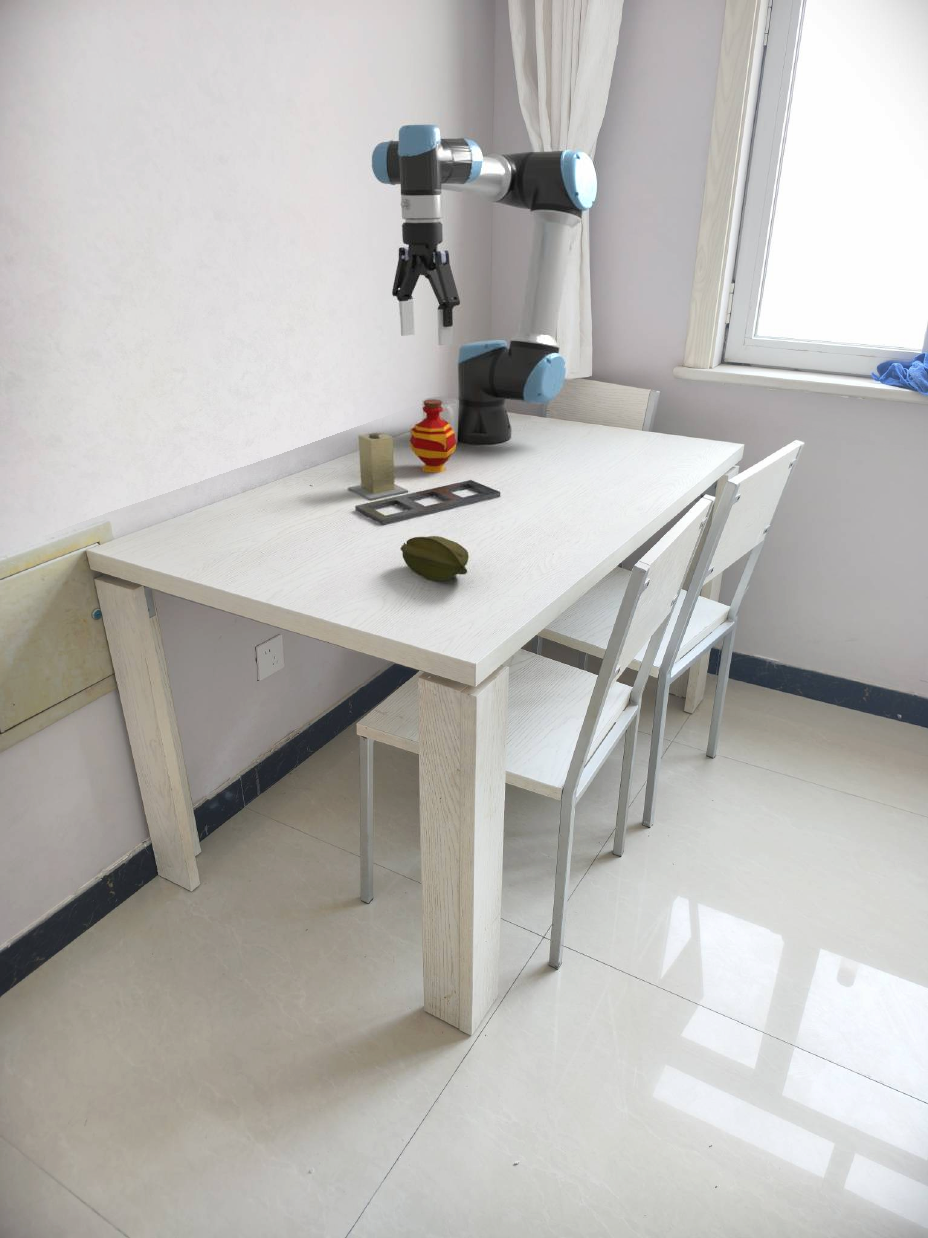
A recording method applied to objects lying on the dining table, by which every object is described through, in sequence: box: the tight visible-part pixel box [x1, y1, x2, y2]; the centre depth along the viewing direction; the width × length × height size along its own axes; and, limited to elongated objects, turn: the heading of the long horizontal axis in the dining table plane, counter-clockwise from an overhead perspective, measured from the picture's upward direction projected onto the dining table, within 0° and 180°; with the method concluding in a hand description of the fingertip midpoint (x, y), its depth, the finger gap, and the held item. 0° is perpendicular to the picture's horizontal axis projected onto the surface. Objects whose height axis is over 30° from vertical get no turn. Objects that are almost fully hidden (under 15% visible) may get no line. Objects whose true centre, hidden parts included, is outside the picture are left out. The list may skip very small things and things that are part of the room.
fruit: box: [400, 535, 469, 582], centre depth 135 cm, size 11×12×7 cm
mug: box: [421, 396, 459, 445], centre depth 207 cm, size 11×9×10 cm
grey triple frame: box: [354, 479, 501, 526], centre depth 169 cm, size 10×28×1 cm, turn 127°
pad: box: [347, 483, 409, 501], centre depth 176 cm, size 9×9×1 cm
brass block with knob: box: [358, 431, 395, 494], centre depth 173 cm, size 5×5×11 cm
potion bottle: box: [408, 399, 457, 473], centre depth 187 cm, size 10×10×15 cm
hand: (426, 339), depth 168 cm, fingers open, 13 cm apart
